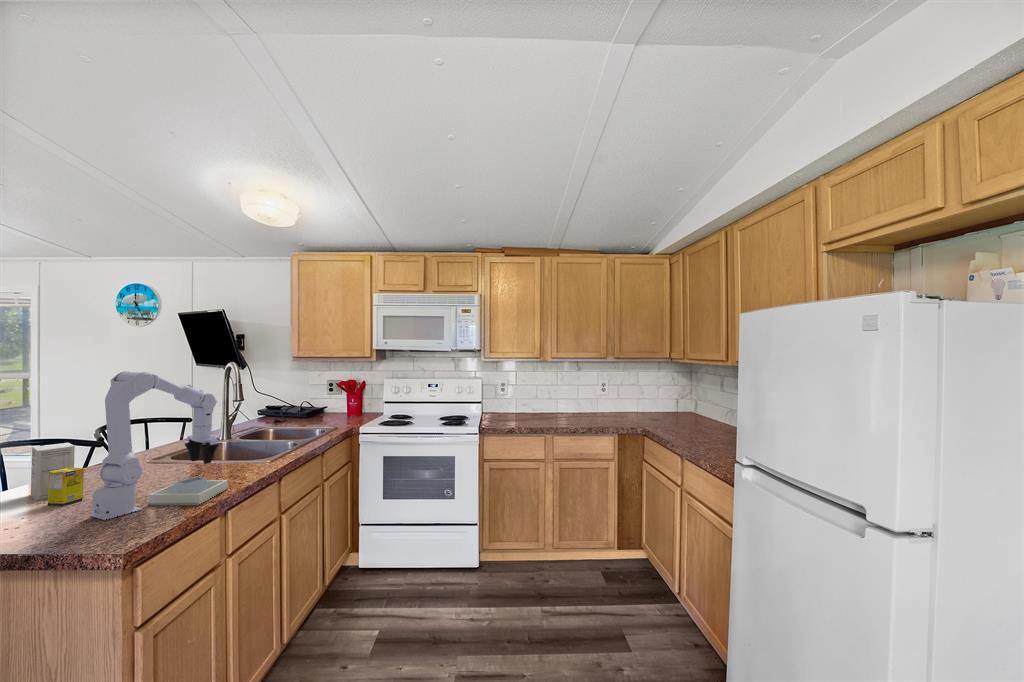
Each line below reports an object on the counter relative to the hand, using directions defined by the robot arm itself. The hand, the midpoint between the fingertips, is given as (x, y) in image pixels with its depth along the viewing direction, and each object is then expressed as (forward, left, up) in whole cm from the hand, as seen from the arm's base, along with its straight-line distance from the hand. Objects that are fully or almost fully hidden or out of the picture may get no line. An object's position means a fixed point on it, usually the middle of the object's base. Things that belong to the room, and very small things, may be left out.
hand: (201, 462), depth 160 cm
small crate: (-8, -8, -9) cm, 14 cm away
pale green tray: (-8, -8, -9) cm, 15 cm away
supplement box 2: (-27, +37, -10) cm, 47 cm away
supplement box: (-29, +22, -10) cm, 38 cm away
